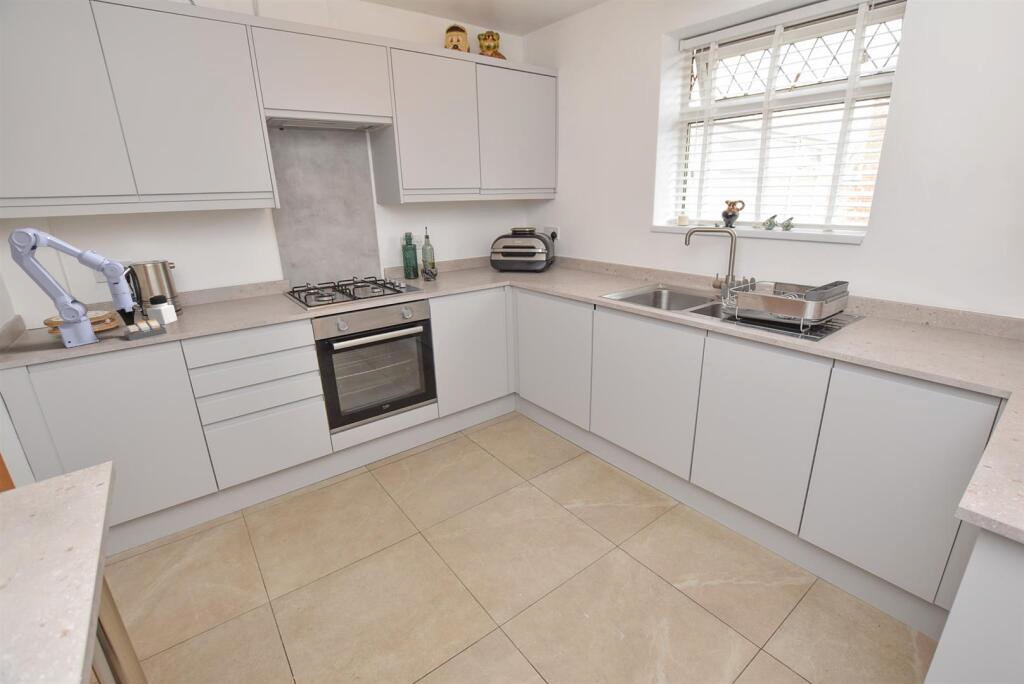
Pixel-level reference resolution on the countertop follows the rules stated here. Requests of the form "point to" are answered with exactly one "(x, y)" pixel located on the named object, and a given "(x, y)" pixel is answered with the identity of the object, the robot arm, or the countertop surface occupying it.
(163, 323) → the medicine bottle
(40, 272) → the robot arm
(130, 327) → the rocker
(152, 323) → the rocker
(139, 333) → the console
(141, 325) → the rocker
